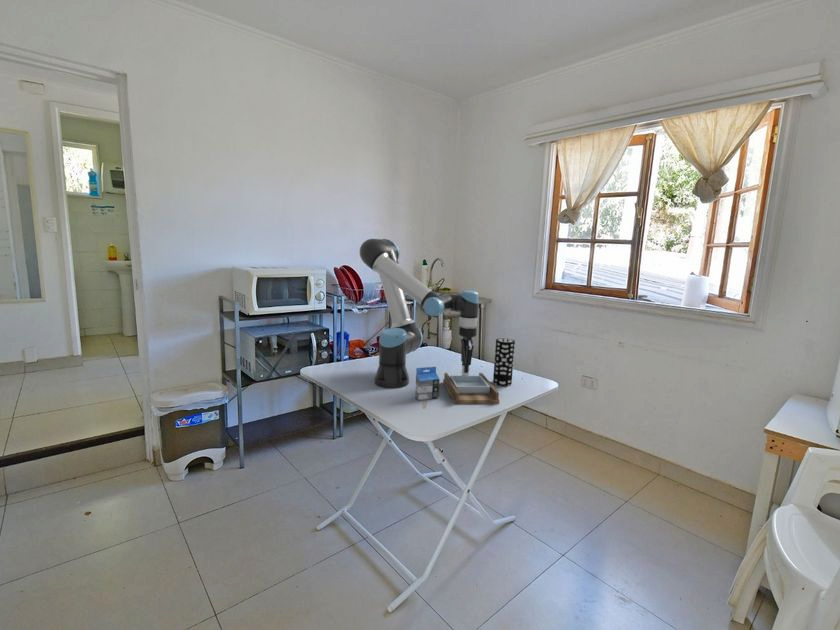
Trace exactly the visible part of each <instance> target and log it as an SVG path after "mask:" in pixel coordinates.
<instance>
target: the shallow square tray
mask: <svg viewBox="0 0 840 630" xmlns="http://www.w3.org/2000/svg"><path fill="white" fill-rule="evenodd" d="M449 377H450V378H451V380H452V382H453V384H454V385H455V387H456V389H457V390H458V392H459V394H490V386H489V385H488V383H487V382H486V381H485V380H484V379H483V377H482V376H479V375H469V376H462V375H449Z"/></svg>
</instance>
